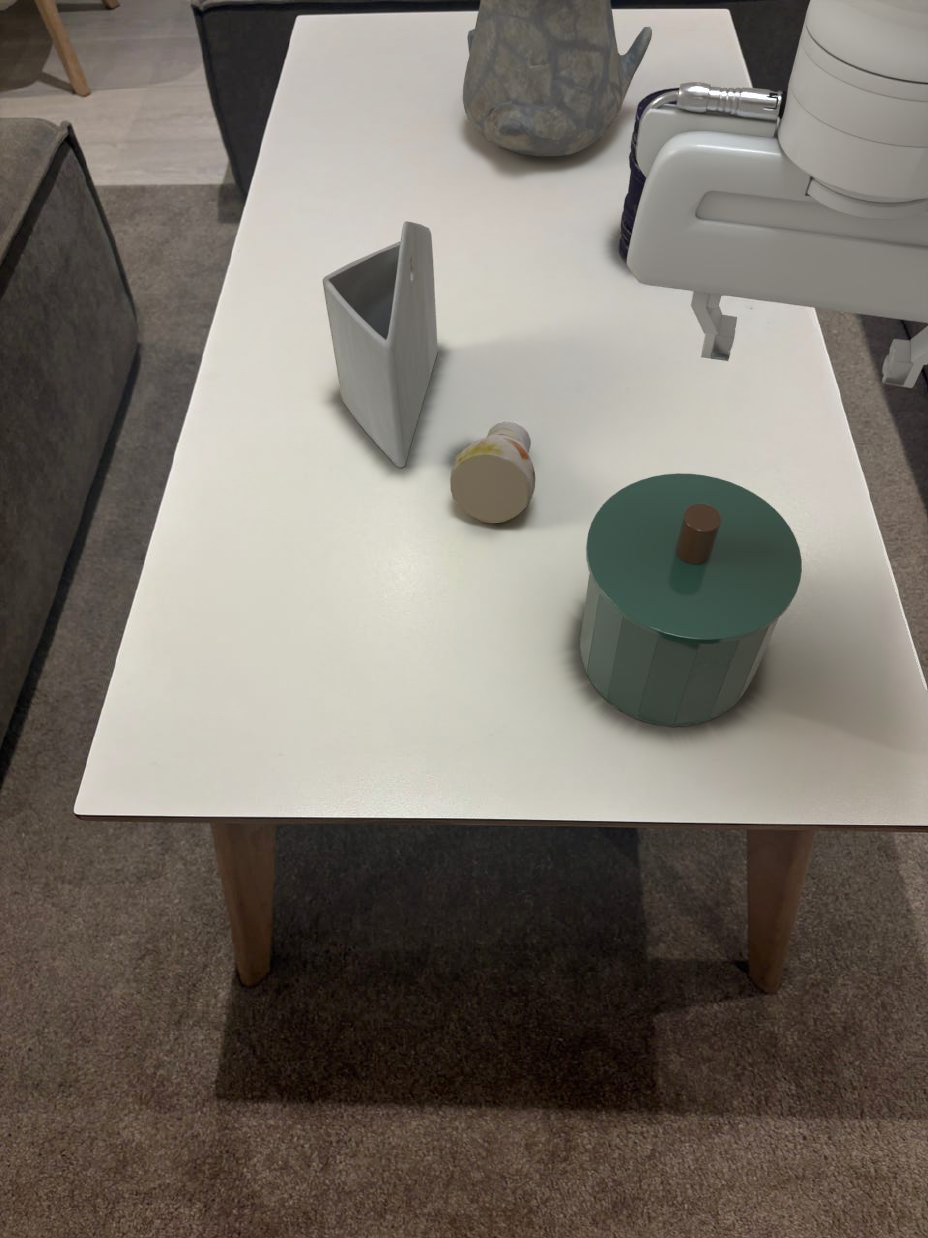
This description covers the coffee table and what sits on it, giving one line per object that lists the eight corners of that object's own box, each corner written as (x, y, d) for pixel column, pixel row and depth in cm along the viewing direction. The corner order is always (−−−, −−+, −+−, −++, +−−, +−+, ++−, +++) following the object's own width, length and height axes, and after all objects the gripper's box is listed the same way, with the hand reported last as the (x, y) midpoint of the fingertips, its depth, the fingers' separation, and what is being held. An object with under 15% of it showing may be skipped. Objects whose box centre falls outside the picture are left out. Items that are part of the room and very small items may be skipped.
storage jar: (725, 265, 104) (757, 127, 92) (642, 286, 102) (663, 148, 90) (682, 215, 109) (707, 78, 97) (602, 234, 108) (617, 97, 95)
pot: (759, 599, 79) (798, 500, 69) (745, 743, 71) (787, 654, 61) (595, 570, 81) (611, 469, 71) (566, 706, 73) (578, 615, 64)
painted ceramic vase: (548, 447, 89) (565, 416, 79) (509, 544, 88) (522, 524, 78) (472, 417, 89) (480, 381, 79) (433, 513, 88) (436, 490, 78)
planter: (361, 343, 98) (337, 158, 82) (438, 351, 97) (429, 166, 81) (319, 458, 89) (283, 276, 73) (404, 468, 88) (386, 286, 72)
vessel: (421, 164, 116) (410, -22, 100) (489, 77, 128) (490, -102, 111) (593, 201, 111) (612, 12, 95) (648, 107, 123) (673, -76, 106)
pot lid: (802, 502, 70) (821, 456, 66) (791, 669, 62) (811, 627, 58) (603, 470, 72) (610, 423, 68) (568, 626, 64) (573, 583, 60)
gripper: (634, 115, 40) (601, 374, 52) (1167, 173, 37) (1007, 436, 48) (655, 43, 44) (620, 301, 55) (1143, 91, 41) (999, 354, 52)
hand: (804, 365), depth 52 cm, fingers open, 8 cm apart
